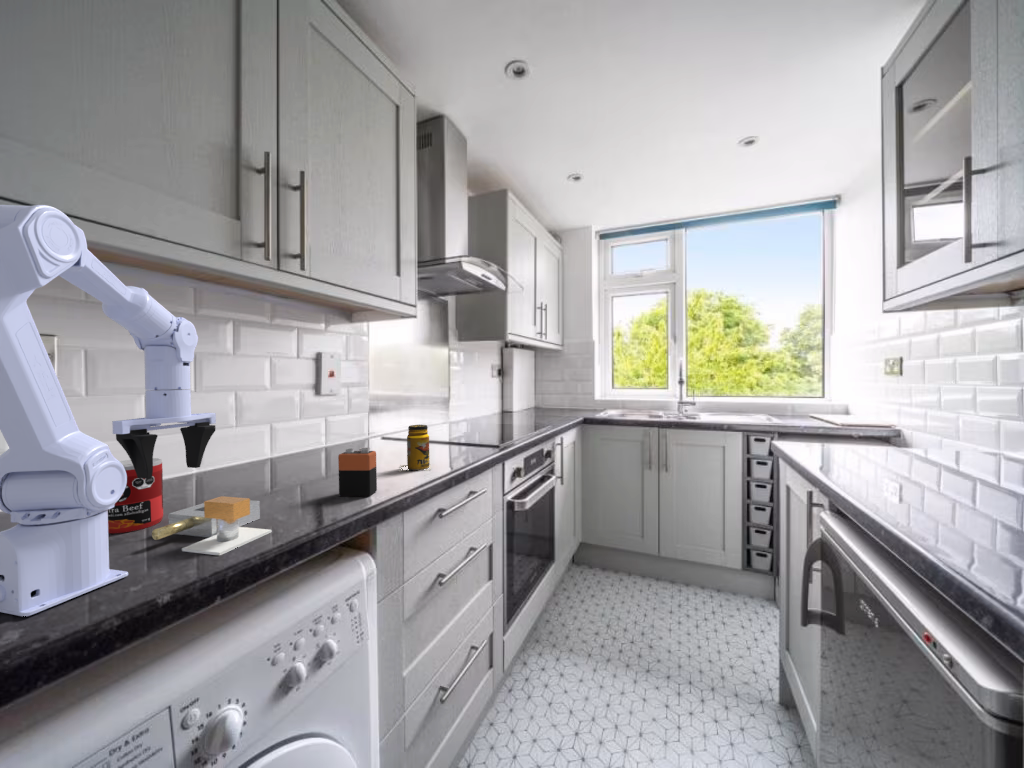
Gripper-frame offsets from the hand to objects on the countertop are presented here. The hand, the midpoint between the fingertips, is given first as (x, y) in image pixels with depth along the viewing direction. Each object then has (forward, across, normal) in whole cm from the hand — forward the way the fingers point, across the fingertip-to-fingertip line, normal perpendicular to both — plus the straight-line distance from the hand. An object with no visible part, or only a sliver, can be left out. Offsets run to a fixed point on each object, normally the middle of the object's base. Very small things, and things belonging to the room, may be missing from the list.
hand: (170, 472), depth 67 cm
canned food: (+10, -1, -10) cm, 14 cm away
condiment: (+10, -52, +17) cm, 56 cm away
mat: (+10, +1, +13) cm, 16 cm away
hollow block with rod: (+10, -2, +4) cm, 11 cm away
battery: (+10, -26, +17) cm, 33 cm away
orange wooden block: (+10, +1, +13) cm, 16 cm away
